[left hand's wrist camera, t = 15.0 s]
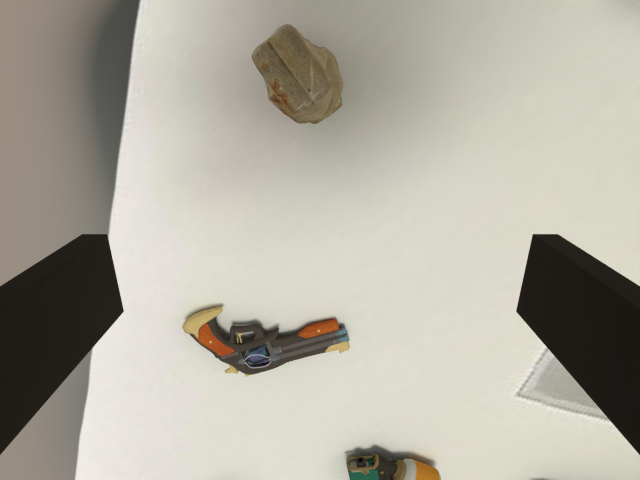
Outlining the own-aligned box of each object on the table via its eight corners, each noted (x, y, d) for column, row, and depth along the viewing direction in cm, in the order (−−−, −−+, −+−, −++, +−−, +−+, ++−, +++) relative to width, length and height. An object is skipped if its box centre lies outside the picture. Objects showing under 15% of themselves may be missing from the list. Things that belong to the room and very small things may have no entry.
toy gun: (176, 323, 46) (205, 394, 49) (331, 280, 46) (353, 354, 48) (183, 313, 49) (210, 381, 51) (330, 272, 48) (350, 342, 51)
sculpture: (312, 29, 37) (308, -3, 23) (351, 98, 39) (368, 106, 25) (262, 66, 38) (229, 55, 24) (302, 130, 40) (293, 155, 26)
